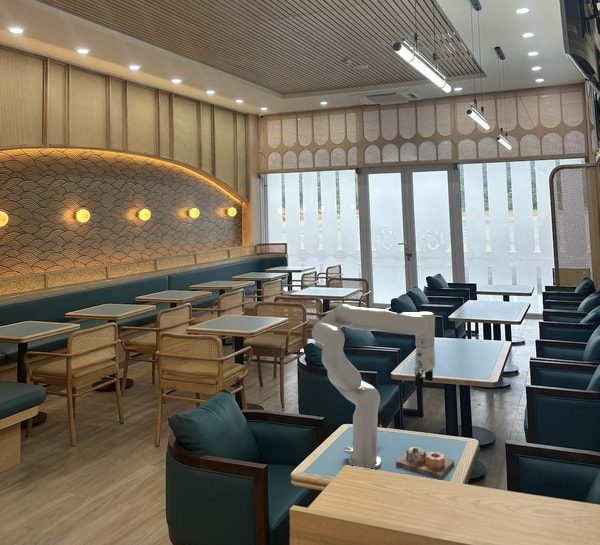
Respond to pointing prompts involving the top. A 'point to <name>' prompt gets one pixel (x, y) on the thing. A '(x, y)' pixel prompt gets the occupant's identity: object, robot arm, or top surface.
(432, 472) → the gear board
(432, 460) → the terracotta gear
